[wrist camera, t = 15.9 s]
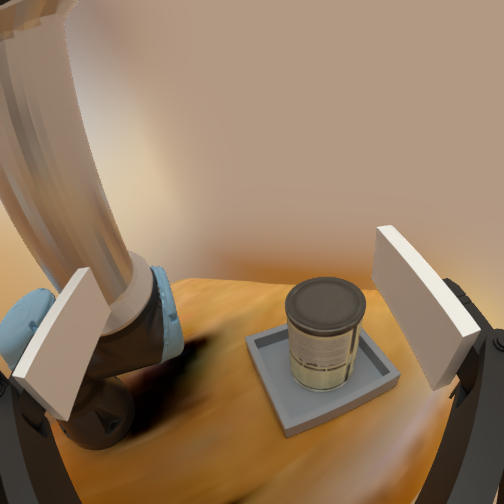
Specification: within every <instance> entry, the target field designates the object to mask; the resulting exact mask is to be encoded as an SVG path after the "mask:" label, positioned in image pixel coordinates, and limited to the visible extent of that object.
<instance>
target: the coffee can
mask: <svg viewBox="0 0 504 504" xmlns="http://www.w3.org/2000/svg"><path fill="white" fill-rule="evenodd" d="M365 309H366V299H365V296H364V294H363V293H362V291H361V290H360V289H359V288H358V287H357V286H355V285H354V284H353V283H351V282H349V281H346V280H343V279H340V278H334V277H318V278H312V279H309V280H306V281H303V282H301V283H299V284H298V285H296V286H295V287H294V288H293V289H292V290H291V291H290V292H289V293H288V295H287V297H286V300H285V310H286V314H287V325H288V336H289V349H290V363H291V365H290V369H291V374H292V377H293V378H294V380H295V381H296V382H297V383H298V384H299V385H300V386H301V387H303V388H304V389H307V390H310V391H313V392H329V391H333V390H336V389H338V388H340V387H342V386H343V385H344V384H346V383H347V382H348V380H349V379H350V378H351V376H352V373H353V370H354V363H355V358H356V353H357V348H358V343H359V338H360V333H361V326H362V320H363V315H364V313H365Z"/></svg>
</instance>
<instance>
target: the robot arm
mask: <svg viewBox="0 0 504 504" xmlns="http://www.w3.org/2000/svg"><path fill="white" fill-rule="evenodd" d="M78 1H79V0H0V199H1V201H2V203H3V205H4V207H5V209H6V211H7V213H8V215H9V217H10V218H11V220H12V222H13V224H14V226H15V227H16V229H17V231H18V233H19V234H20V236H21V238H22V239H23V241H24V243H25V244H26V246H27V248H28V249H29V251H30V252H31V254H32V255H33V257H34V258H35V260H36V262H37V263H38V264H39V266H40V267H41V269H42V270H43V272H44V273H45V275H46V276H47V277H48V279H49V280H50V282H51V283H52V285H53V286H54V287H55V289H56V290H57V291H58V293H59V294H60V295H59V296H58V298H57V299H55V295H54V294H53V293H51V292H50V290H48V289H44V288H39V289H36V290H34V291H32V292H30V293H28V294H27V295H25V296H24V297H22V298H21V299H20V300H19V301H18V302H17V303H16V304H15V305H14V306H13V307H12V308H11V309H10V310H9V311H8V312H7V314H6V315H5V317H4V318H3V320H2V322H1V324H0V355H1V356H2V357H3V359H4V360H5V362H6V363H7V364H8V367H9V369H11V370H12V373H11V375H10V377H9V379H7V378H6V377H5V376H4V374H3V373H2V372H1V371H0V504H82V503H81V501H80V499H79V497H78V495H77V493H76V491H75V489H74V487H73V484H72V482H71V480H70V478H69V476H68V473H67V471H66V468H65V466H64V464H63V461H62V458H61V456H60V453H59V450H58V448H57V445H56V442H55V439H54V436H53V433H52V430H51V427H50V424H49V421H48V419H47V418H46V417H45V416H44V414H45V412H46V411H47V412H48V413H49V414H51V415H52V416H53V417H54V418H56V420H57V422H58V423H59V425H60V427H61V429H62V430H63V432H64V433H65V434H66V435H67V437H69V438H70V439H71V440H72V441H74V442H75V443H76V444H78V445H79V446H81V447H83V448H86V449H92V450H98V449H104V448H107V447H110V446H112V445H114V444H115V443H117V442H118V441H120V440H121V439H122V438H123V437H124V436H125V435H126V433H127V432H128V430H129V429H130V427H131V425H132V423H133V420H134V416H135V402H134V398H133V396H132V394H131V392H130V391H129V389H128V388H127V387H126V386H125V384H124V383H123V382H122V381H121V380H120V379H119V378H117V377H116V376H117V375H120V374H124V373H127V372H131V371H134V370H137V369H141V368H144V367H147V366H150V365H154V364H162V363H163V362H164V361H166V360H168V359H171V358H173V357H176V356H178V355H179V354H181V352H182V351H183V349H184V338H183V333H182V329H181V325H180V321H179V318H178V316H177V310H176V305H175V302H174V298H173V294H172V291H171V287H170V284H169V281H168V278H167V275H166V272H165V270H164V269H163V268H162V267H159V266H158V267H154V266H151V267H149V265H148V264H147V262H146V261H145V260H144V259H143V258H142V257H141V256H140V255H138V254H136V253H134V252H131V251H128V250H127V249H126V246H125V244H124V242H123V240H122V237H121V234H120V232H119V229H118V227H117V224H116V222H115V219H114V217H113V214H112V212H111V209H110V206H109V204H108V201H107V198H106V195H105V193H104V190H103V187H102V184H101V181H100V178H99V175H98V172H97V169H96V166H95V163H94V160H93V157H92V153H91V150H90V146H89V143H88V140H87V136H86V133H85V129H84V125H83V121H82V117H81V113H80V109H79V105H78V101H77V97H76V92H75V88H74V83H73V78H72V73H71V68H70V62H69V56H68V49H67V43H66V36H65V28H64V22H65V20H66V17H67V16H68V14H69V13H70V12H71V10H72V9H73V8H74V6H75V5H76V4H77V3H78ZM371 279H372V280H373V282H374V284H375V285H376V287H377V288H378V290H379V292H380V293H381V295H382V297H383V298H384V300H385V302H386V304H387V305H388V307H389V309H390V310H391V312H392V314H393V316H394V317H395V319H396V321H397V323H398V324H399V326H400V328H401V330H402V332H403V333H404V335H405V337H406V339H407V341H408V343H409V345H410V346H411V348H412V350H413V352H414V354H415V356H416V358H417V360H418V362H419V364H420V366H421V368H422V370H423V372H424V374H425V376H426V378H427V380H428V382H429V384H430V386H431V388H432V390H433V391H434V390H437V389H439V388H442V387H444V386H446V385H449V384H450V383H451V381H452V380H453V378H454V377H455V375H456V374H457V376H458V378H459V379H460V381H459V383H458V384H457V386H456V387H455V389H454V390H453V391H452V393H451V395H450V397H449V398H450V399H452V397H453V396H454V394H455V397H454V401H453V404H452V408H451V412H450V415H449V419H448V422H447V425H446V429H445V432H444V435H443V438H442V441H441V443H440V446H439V449H438V452H437V454H436V457H435V460H434V462H433V465H432V467H431V469H430V472H429V474H428V476H427V479H426V481H425V483H424V485H423V487H422V490H421V492H420V494H419V496H418V498H417V500H416V502H415V504H493V501H494V498H495V495H496V492H497V489H498V486H499V489H498V497H497V503H496V504H504V330H503V329H493V328H492V327H491V325H490V324H489V323H488V321H487V320H486V319H485V317H484V316H483V315H482V313H481V312H480V311H479V310H478V308H477V307H476V306H475V305H474V303H472V302H471V300H470V298H469V297H468V296H466V294H465V292H464V291H463V290H462V289H461V288H460V287H459V285H457V284H456V283H454V282H452V281H451V280H450V279H448V278H446V279H441V278H440V277H439V276H438V275H437V273H436V272H435V271H434V270H433V269H432V268H431V267H430V265H429V264H428V263H427V262H426V261H425V260H424V259H423V258H422V257H421V255H420V254H419V253H418V252H417V251H416V250H415V249H414V248H413V247H412V246H411V245H410V244H409V243H408V242H407V240H406V239H405V238H404V237H403V236H402V235H401V234H400V233H399V232H398V231H397V230H396V229H395V228H394V227H393V226H392V225H389V226H381V227H377V229H376V241H375V252H374V261H373V269H372V278H371Z"/></svg>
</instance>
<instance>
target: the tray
mask: <svg viewBox="0 0 504 504" xmlns="http://www.w3.org/2000/svg"><path fill="white" fill-rule="evenodd" d="M245 341H246V345H247V350H248V352H249V354H250V357H251V359H252V362H253V364H254V366H255V369H256V371H257V373H258V376H259V378H260V380H261V383H262V385H263V387H264V389H265V392H266V394H267V396H268V399H269V401H270V403H271V405H272V408H273V410H274V412H275V414H276V416H277V419H278V421H279V423H280V425H281V427H282V430H283V432H284V434H285V436H286V438H288V437H290V436H293V435H296V434H298V433H301V432H303V431H306V430H308V429H311V428H313V427H316V426H318V425H320V424H322V423H325V422H327V421H329V420H331V419H334V418H336V417H338V416H340V415H342V414H344V413H346V412H348V411H350V410H352V409H354V408H356V407H358V406H360V405H362V404H364V403H366V402H368V401H370V400H372V399H373V398H375V397H377V396H379V395H381V394H382V393H384V392H386V391H388V390H389V389H391V388H393V387H394V386H396V384H397V382H398V380H399V377H400V375H401V373H400V372H399V371H398V370H397V369H396V367H395V366H394V365H393V364H392V363H391V361H390V360H389V359H388V358H387V357H386V355H385V354H384V353H383V352H382V351H381V350H380V348H379V347H378V346H377V345H376V344H375V342H374V341H373V340H372V339H371V338H370V337H369V335H368V334H367V333H366V332H365V331H364V330H363V328H362V327H361V333H360V338H359V343H358V348H357V353H356V358H355V363H354V370H353V373H352V376H351V378H350V379H349V380H348V382H347V383H346V384H344V385H343V386H342V387H340V388H338V389H336V390H333V391H329V392H313V391H310V390H307V389H304V388H303V387H301V386H300V385H299V384H298V383H297V382H296V381H295V380H294V378H293V377H292V374H291V369H290V365H291V363H290V349H289V336H288V325H287V324H284V325H281V326H278V327H275V328H272V329H269V330H266V331H263V332H260V333H257V334H254V335H250V336H247V337H245Z"/></svg>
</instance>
